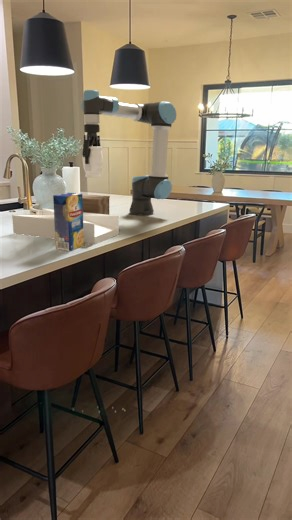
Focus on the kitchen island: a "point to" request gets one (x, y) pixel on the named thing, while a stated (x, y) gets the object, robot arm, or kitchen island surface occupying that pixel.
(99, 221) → the white open tray
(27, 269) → the kitchen island surface
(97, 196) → the walnut block
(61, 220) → the blue cardboard box
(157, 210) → the kitchen island surface
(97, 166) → the jar
